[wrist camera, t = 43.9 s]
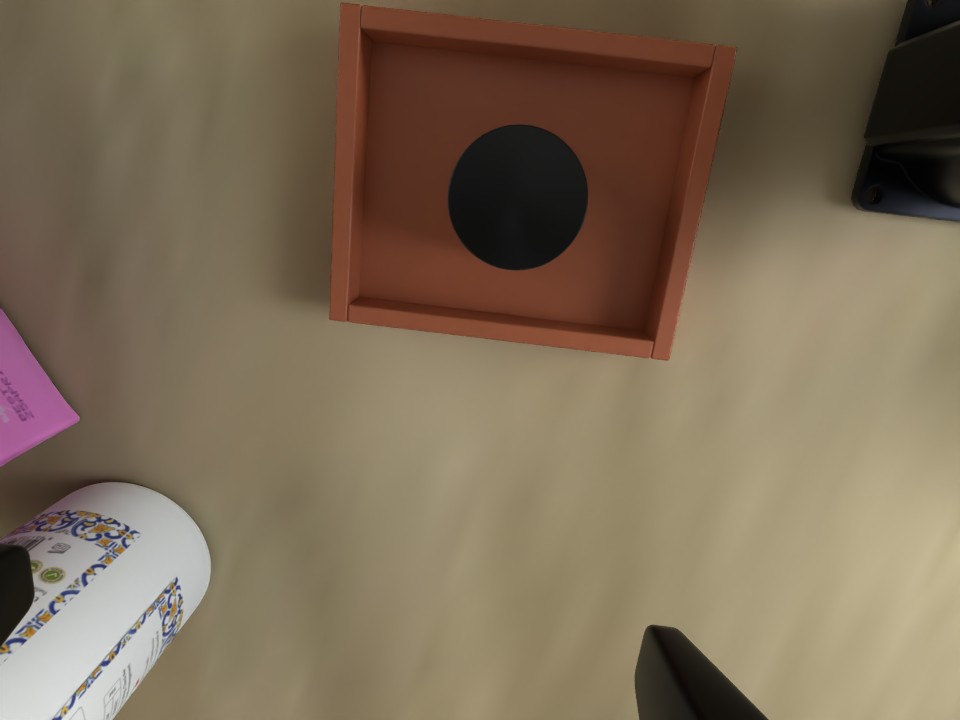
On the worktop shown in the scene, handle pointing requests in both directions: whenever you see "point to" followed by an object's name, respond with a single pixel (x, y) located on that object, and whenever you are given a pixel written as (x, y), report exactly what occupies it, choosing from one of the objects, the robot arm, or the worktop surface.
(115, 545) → the bath foam
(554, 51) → the tray
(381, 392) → the worktop surface
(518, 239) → the cap
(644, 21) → the worktop surface
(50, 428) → the gum box
